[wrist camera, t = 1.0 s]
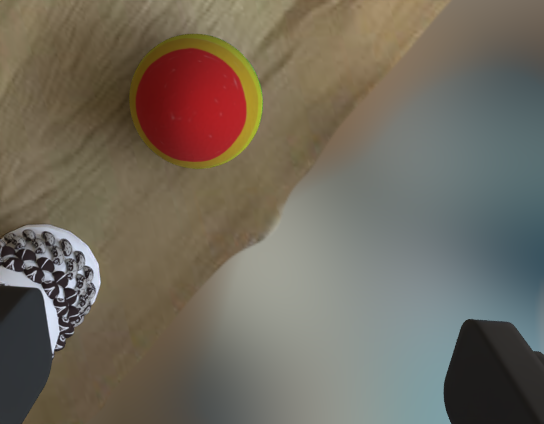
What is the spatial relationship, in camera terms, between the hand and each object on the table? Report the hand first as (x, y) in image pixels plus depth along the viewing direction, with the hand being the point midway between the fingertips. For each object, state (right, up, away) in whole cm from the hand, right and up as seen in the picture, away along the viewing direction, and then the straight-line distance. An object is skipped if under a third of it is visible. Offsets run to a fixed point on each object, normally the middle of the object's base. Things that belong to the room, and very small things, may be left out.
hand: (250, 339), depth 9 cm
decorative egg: (-4, +11, +24) cm, 27 cm away
